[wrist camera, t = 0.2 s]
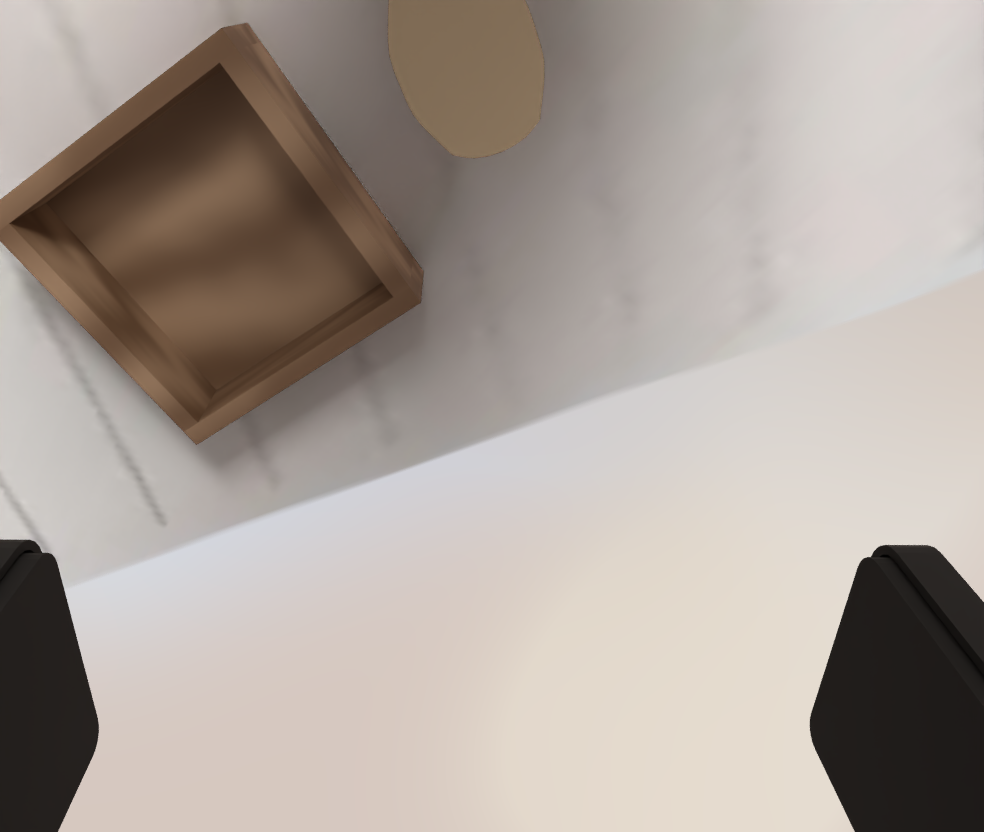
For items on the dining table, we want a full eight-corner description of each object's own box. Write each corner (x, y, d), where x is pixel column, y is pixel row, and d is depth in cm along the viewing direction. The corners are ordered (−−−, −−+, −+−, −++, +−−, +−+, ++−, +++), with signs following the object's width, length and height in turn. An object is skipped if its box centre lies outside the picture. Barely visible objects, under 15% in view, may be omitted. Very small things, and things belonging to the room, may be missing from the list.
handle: (441, 116, 42) (437, 177, 29) (389, -16, 39) (358, -15, 26) (528, 80, 41) (566, 126, 28) (483, -57, 38) (501, -78, 25)
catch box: (26, 193, 43) (-23, 217, 38) (247, 22, 39) (221, 27, 35) (219, 403, 49) (196, 444, 44) (423, 271, 46) (420, 302, 41)
